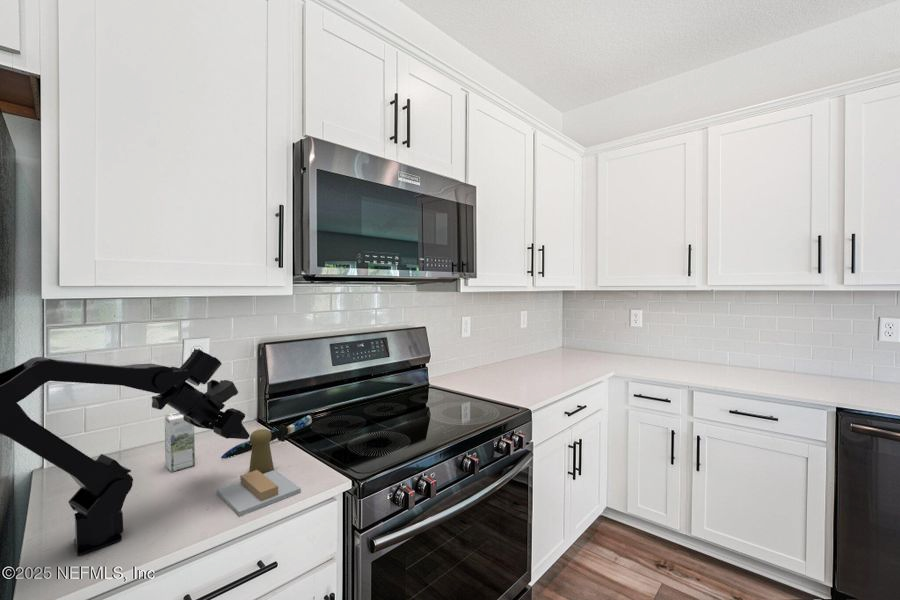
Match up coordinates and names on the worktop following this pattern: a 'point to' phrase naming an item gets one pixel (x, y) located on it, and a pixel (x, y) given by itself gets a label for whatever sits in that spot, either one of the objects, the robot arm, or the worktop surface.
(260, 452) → the olive pepper mill
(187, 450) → the syrup box
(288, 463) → the worktop surface
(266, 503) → the ridge board
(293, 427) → the knife
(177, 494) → the worktop surface
